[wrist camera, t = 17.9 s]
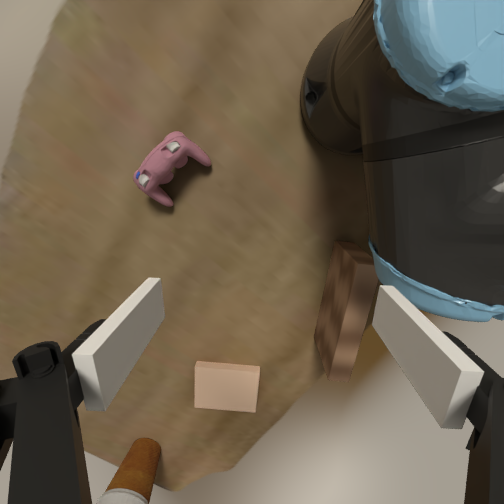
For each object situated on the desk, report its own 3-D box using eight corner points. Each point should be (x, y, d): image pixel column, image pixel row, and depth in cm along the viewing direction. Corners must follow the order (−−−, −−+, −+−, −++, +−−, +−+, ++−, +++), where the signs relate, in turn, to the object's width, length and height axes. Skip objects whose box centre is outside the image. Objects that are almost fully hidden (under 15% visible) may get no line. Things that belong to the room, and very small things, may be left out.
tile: (194, 366, 47) (194, 407, 51) (259, 372, 47) (255, 412, 50) (197, 359, 49) (197, 398, 52) (259, 364, 49) (255, 403, 52)
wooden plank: (334, 240, 40) (358, 263, 31) (353, 242, 40) (382, 266, 31) (313, 335, 46) (328, 380, 37) (330, 337, 46) (348, 382, 37)
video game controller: (198, 142, 38) (168, 117, 31) (216, 163, 37) (188, 143, 30) (156, 189, 40) (119, 176, 34) (171, 210, 39) (136, 201, 32)
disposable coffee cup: (177, 451, 57) (156, 523, 46) (146, 468, 59) (119, 540, 48) (147, 426, 55) (117, 494, 43) (116, 443, 57) (80, 513, 45)
